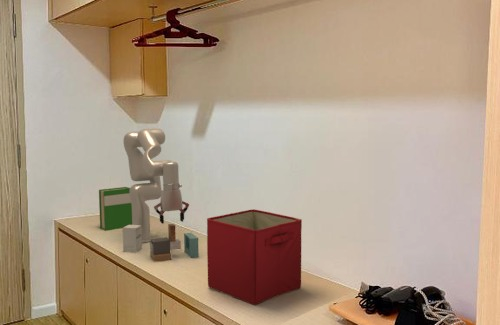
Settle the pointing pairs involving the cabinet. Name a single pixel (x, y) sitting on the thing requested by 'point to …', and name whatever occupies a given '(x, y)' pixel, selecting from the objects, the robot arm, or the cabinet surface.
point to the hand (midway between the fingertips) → (172, 222)
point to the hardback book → (115, 208)
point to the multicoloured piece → (171, 239)
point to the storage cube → (254, 254)
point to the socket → (191, 245)
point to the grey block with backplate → (161, 249)
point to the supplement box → (132, 238)
